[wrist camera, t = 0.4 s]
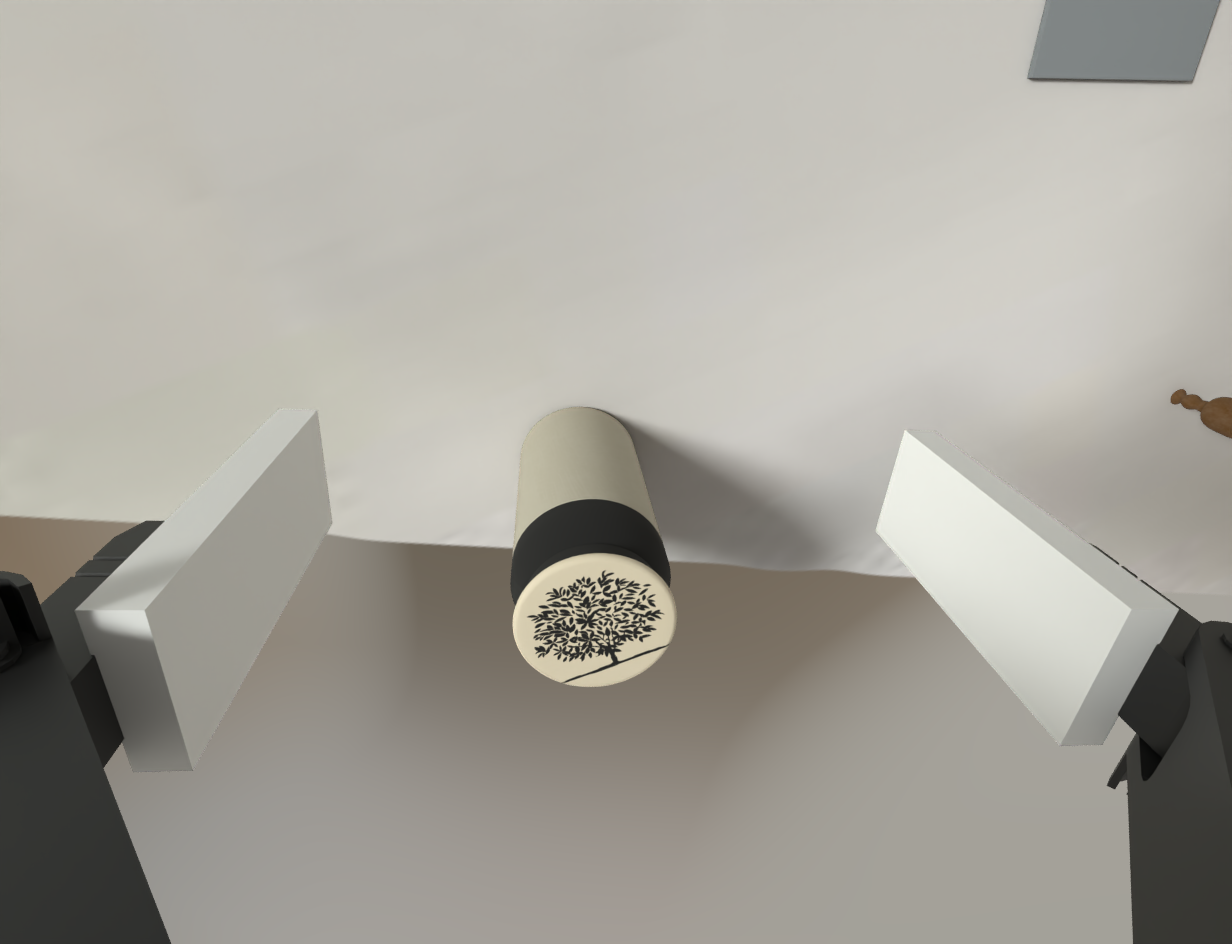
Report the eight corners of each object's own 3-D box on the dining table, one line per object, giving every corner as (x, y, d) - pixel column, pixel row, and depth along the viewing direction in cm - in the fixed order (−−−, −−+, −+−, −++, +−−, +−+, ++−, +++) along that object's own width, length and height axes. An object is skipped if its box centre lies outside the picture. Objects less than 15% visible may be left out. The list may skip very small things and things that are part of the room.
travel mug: (506, 420, 44) (484, 577, 28) (621, 392, 44) (666, 534, 28) (538, 519, 47) (534, 709, 31) (644, 494, 47) (695, 671, 31)
